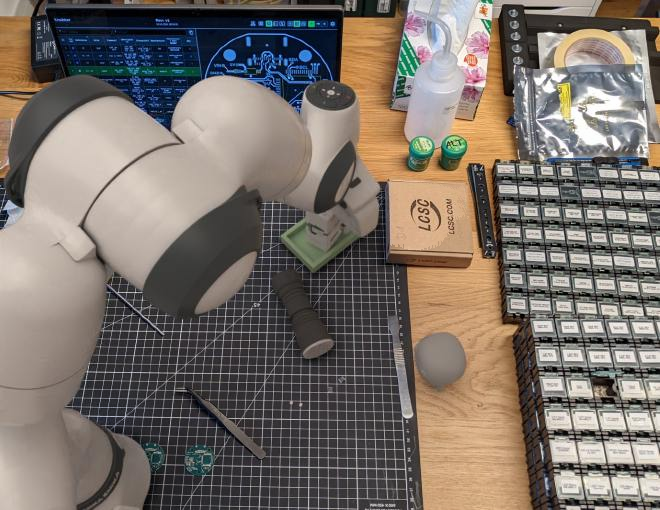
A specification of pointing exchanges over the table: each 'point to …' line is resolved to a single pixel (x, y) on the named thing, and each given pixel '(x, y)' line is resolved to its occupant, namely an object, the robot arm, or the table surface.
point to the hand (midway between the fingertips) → (328, 212)
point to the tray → (307, 253)
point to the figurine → (440, 359)
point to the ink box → (322, 230)
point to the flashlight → (302, 314)
